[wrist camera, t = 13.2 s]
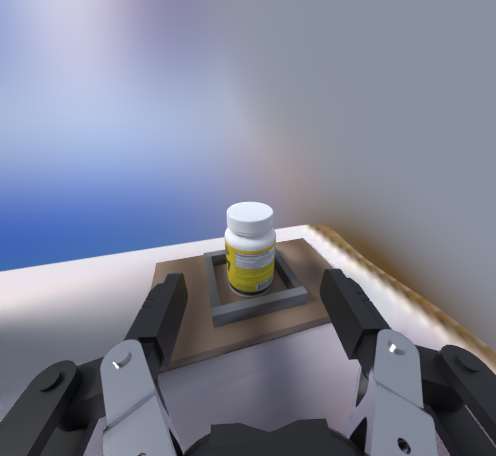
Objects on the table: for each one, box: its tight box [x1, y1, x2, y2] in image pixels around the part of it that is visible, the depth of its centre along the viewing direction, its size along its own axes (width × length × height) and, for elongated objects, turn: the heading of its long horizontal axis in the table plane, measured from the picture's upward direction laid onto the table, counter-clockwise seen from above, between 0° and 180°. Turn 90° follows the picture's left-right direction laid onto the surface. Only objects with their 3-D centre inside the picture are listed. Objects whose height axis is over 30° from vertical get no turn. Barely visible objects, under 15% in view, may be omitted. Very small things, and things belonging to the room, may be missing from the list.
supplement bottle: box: [225, 202, 276, 298], centre depth 18 cm, size 5×5×8 cm
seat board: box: [151, 238, 333, 373], centre depth 20 cm, size 20×12×2 cm, turn 106°
